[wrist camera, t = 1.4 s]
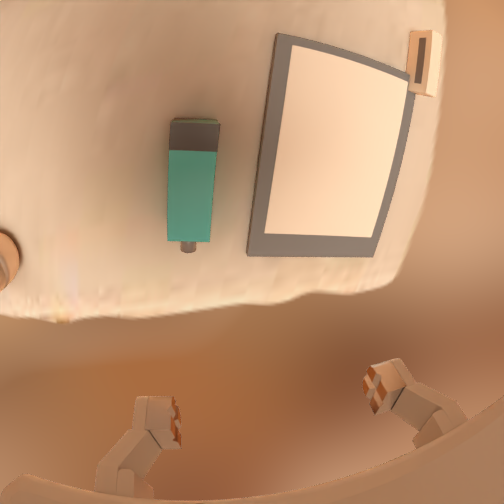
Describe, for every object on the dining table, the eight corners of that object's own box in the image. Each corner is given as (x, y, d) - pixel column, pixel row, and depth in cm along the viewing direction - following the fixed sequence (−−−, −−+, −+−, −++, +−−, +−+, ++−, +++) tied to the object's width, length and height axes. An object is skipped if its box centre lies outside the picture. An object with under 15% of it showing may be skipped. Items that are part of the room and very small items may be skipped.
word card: (410, 31, 22) (432, 29, 18) (420, 37, 22) (442, 36, 19) (403, 89, 26) (425, 92, 22) (413, 93, 26) (435, 97, 23)
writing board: (275, 34, 21) (278, 32, 21) (413, 78, 25) (418, 78, 24) (246, 252, 33) (247, 256, 33) (370, 254, 37) (373, 257, 36)
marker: (174, 118, 24) (170, 122, 21) (216, 120, 25) (220, 124, 22) (170, 239, 31) (167, 259, 27) (206, 240, 32) (208, 259, 28)
